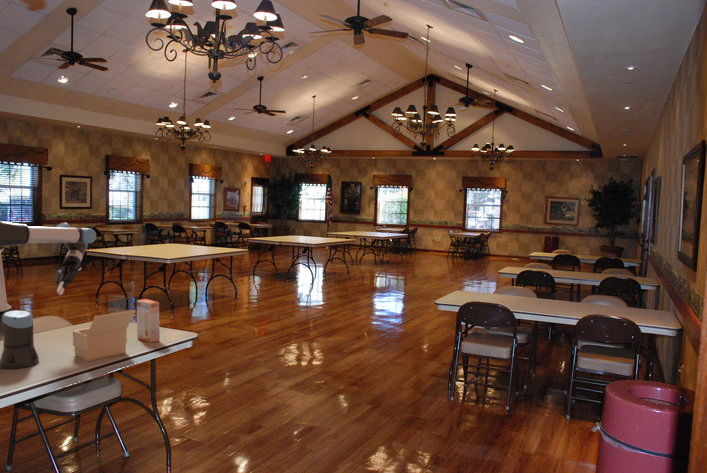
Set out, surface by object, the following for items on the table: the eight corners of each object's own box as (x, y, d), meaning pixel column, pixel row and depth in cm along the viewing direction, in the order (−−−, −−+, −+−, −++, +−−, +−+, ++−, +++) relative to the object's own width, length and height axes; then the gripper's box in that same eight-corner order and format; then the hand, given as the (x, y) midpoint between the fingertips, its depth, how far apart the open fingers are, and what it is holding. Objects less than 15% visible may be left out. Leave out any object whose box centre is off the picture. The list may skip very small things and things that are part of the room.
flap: (125, 328, 264) (126, 329, 264) (86, 335, 250) (86, 336, 250) (135, 309, 257) (135, 310, 257) (95, 316, 243) (95, 317, 243)
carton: (127, 353, 265) (126, 328, 264) (86, 362, 251) (85, 336, 250) (112, 347, 275) (112, 323, 274) (73, 355, 260) (72, 330, 259)
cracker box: (160, 341, 287) (159, 301, 286) (149, 343, 283) (148, 303, 281) (147, 336, 297) (147, 298, 295) (136, 338, 292) (136, 299, 291)
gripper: (88, 263, 282) (76, 295, 264) (63, 268, 282) (49, 300, 263) (81, 252, 277) (69, 284, 259) (56, 257, 277) (42, 290, 259)
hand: (59, 292), depth 261 cm, fingers closed
